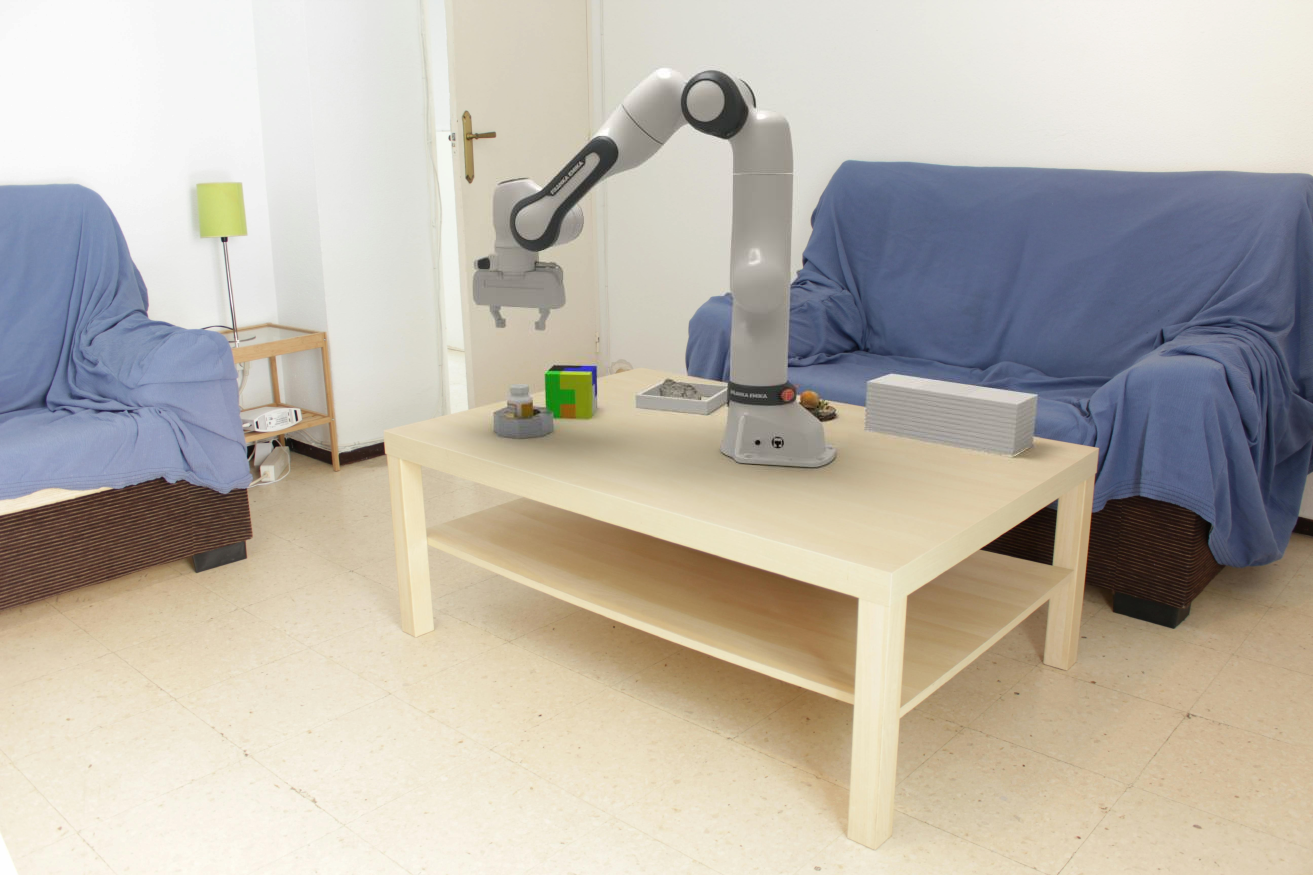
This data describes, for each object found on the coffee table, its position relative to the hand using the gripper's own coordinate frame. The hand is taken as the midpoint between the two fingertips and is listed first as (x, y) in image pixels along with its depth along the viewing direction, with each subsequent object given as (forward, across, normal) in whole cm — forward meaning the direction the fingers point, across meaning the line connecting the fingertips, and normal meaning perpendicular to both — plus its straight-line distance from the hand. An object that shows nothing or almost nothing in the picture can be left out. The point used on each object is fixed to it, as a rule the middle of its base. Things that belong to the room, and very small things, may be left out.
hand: (520, 328), depth 207 cm
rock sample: (+22, -22, -34) cm, 46 cm away
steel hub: (+22, 0, 0) cm, 22 cm away
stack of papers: (+23, -83, -30) cm, 91 cm away
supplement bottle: (+22, +1, 0) cm, 22 cm away
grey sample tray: (+22, -22, -37) cm, 48 cm away
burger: (+23, -52, -37) cm, 68 cm away
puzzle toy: (+22, -2, -18) cm, 29 cm away
